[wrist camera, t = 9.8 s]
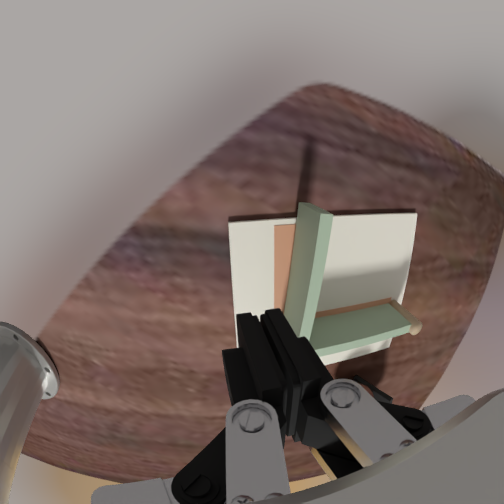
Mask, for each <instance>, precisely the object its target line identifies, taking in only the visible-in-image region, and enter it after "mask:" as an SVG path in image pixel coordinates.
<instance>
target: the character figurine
mask: <svg viewBox="0 0 504 504" xmlns="http://www.w3.org/2000/svg"><path fill="white" fill-rule="evenodd" d="M354 381H355V382H357V383H358V384H360V385H361V386H362V387H363V388H364V389H365V390H366V391H367V392H368V393H369V394H370V395H371V396H372V397H373V398H374V399H375V400H377V401H381V402H386V403H390V404H392V400H393V398H392V397H390V396H388V395H387V394H385V393H384V392H382V391H381V390H379V389H377V388H376V387H374V386H373V385H371V384H370V383H368V382H367V381H365V380H363V379H362V378H360V377H359V376H357V375H356V376H355V377H354Z"/></svg>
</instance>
